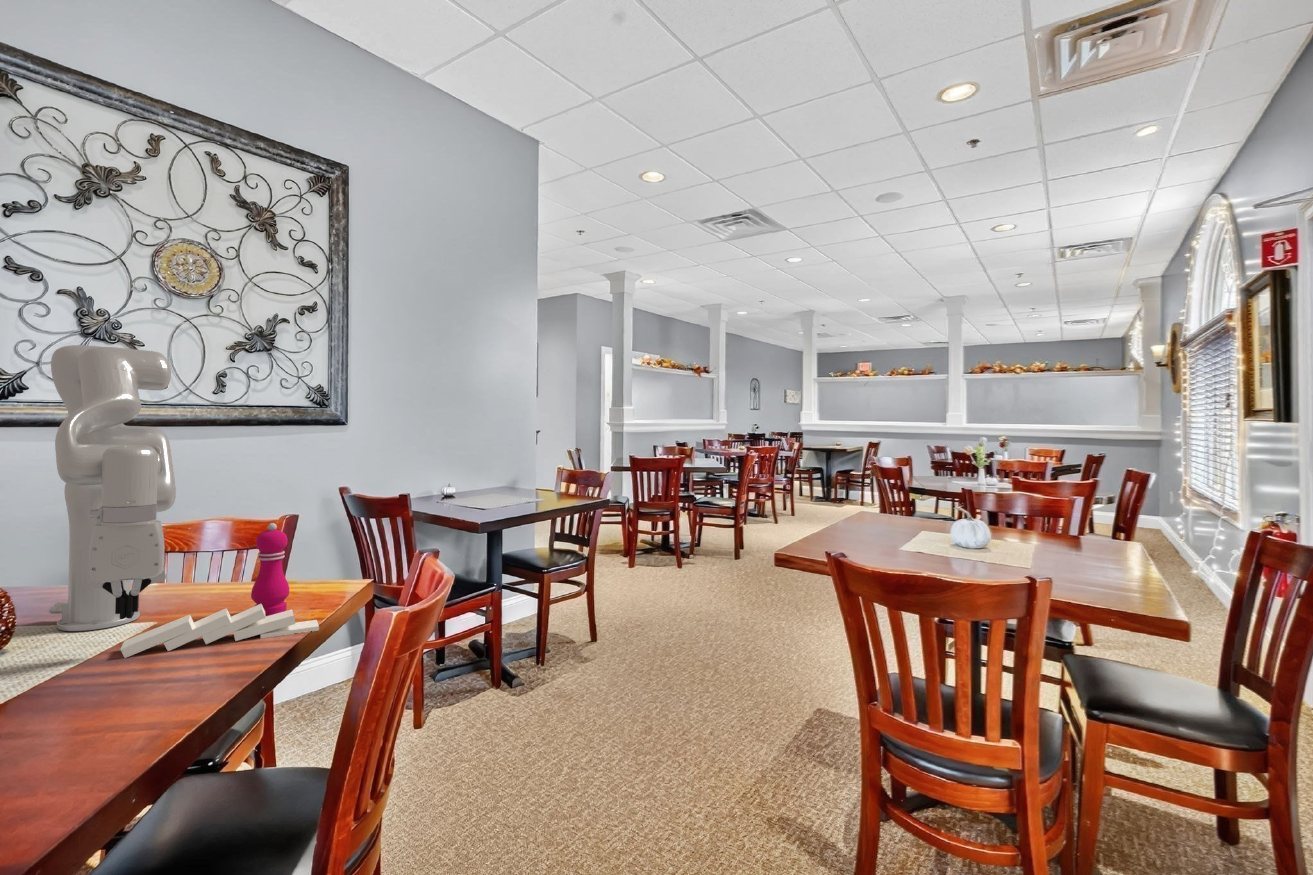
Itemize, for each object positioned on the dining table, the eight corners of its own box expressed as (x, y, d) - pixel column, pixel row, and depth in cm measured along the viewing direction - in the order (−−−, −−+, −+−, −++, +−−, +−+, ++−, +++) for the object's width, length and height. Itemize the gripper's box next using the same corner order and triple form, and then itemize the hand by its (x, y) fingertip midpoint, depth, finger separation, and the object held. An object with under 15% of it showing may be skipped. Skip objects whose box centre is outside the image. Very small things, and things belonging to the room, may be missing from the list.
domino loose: (120, 649, 105) (188, 621, 111) (124, 640, 109) (189, 614, 115) (124, 658, 106) (192, 629, 111) (128, 649, 110) (193, 622, 115)
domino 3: (233, 632, 115) (293, 615, 120) (234, 625, 119) (292, 609, 124) (235, 641, 115) (295, 623, 120) (235, 633, 119) (293, 617, 125)
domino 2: (201, 636, 112) (261, 609, 117) (203, 628, 116) (261, 603, 122) (206, 644, 112) (265, 617, 118) (207, 636, 117) (264, 611, 122)
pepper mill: (296, 608, 137) (298, 521, 137) (273, 618, 130) (275, 526, 130) (267, 607, 138) (269, 520, 138) (242, 616, 130) (244, 524, 130)
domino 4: (260, 634, 117) (319, 626, 123) (260, 627, 121) (316, 619, 127) (260, 643, 117) (318, 634, 123) (259, 636, 121) (316, 628, 127)
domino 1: (163, 642, 109) (226, 614, 114) (165, 635, 113) (226, 607, 118) (167, 651, 109) (230, 622, 115) (169, 643, 113) (230, 615, 119)
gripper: (66, 520, 100) (64, 629, 100) (180, 515, 109) (178, 616, 109) (77, 514, 107) (74, 617, 107) (183, 510, 115) (181, 606, 115)
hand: (126, 616), depth 108 cm, fingers closed
